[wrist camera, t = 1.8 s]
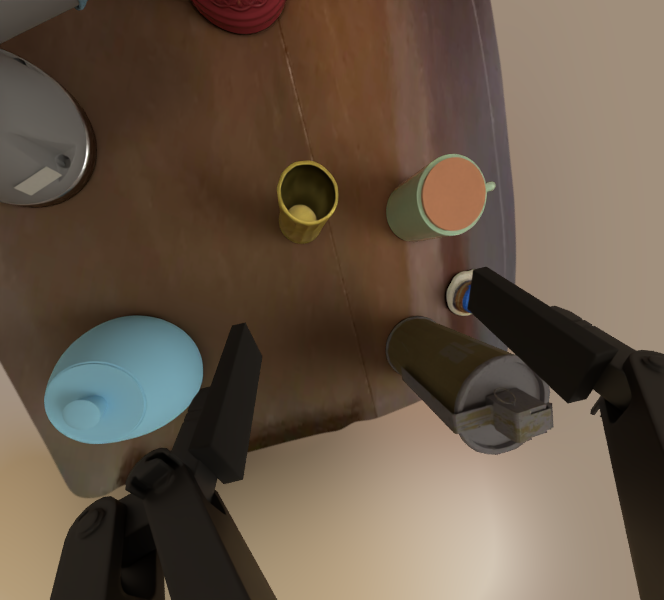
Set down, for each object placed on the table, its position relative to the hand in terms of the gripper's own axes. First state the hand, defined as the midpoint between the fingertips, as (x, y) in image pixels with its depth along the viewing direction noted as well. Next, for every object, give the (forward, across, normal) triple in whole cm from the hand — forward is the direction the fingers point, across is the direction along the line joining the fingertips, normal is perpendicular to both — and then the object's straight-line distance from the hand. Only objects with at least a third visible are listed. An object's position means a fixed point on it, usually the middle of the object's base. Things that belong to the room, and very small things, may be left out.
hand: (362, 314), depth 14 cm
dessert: (+21, +21, -17) cm, 34 cm away
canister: (+17, +10, -22) cm, 30 cm away
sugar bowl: (+16, -28, -12) cm, 35 cm away
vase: (+24, -3, 0) cm, 24 cm away
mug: (+26, +15, -3) cm, 30 cm away
